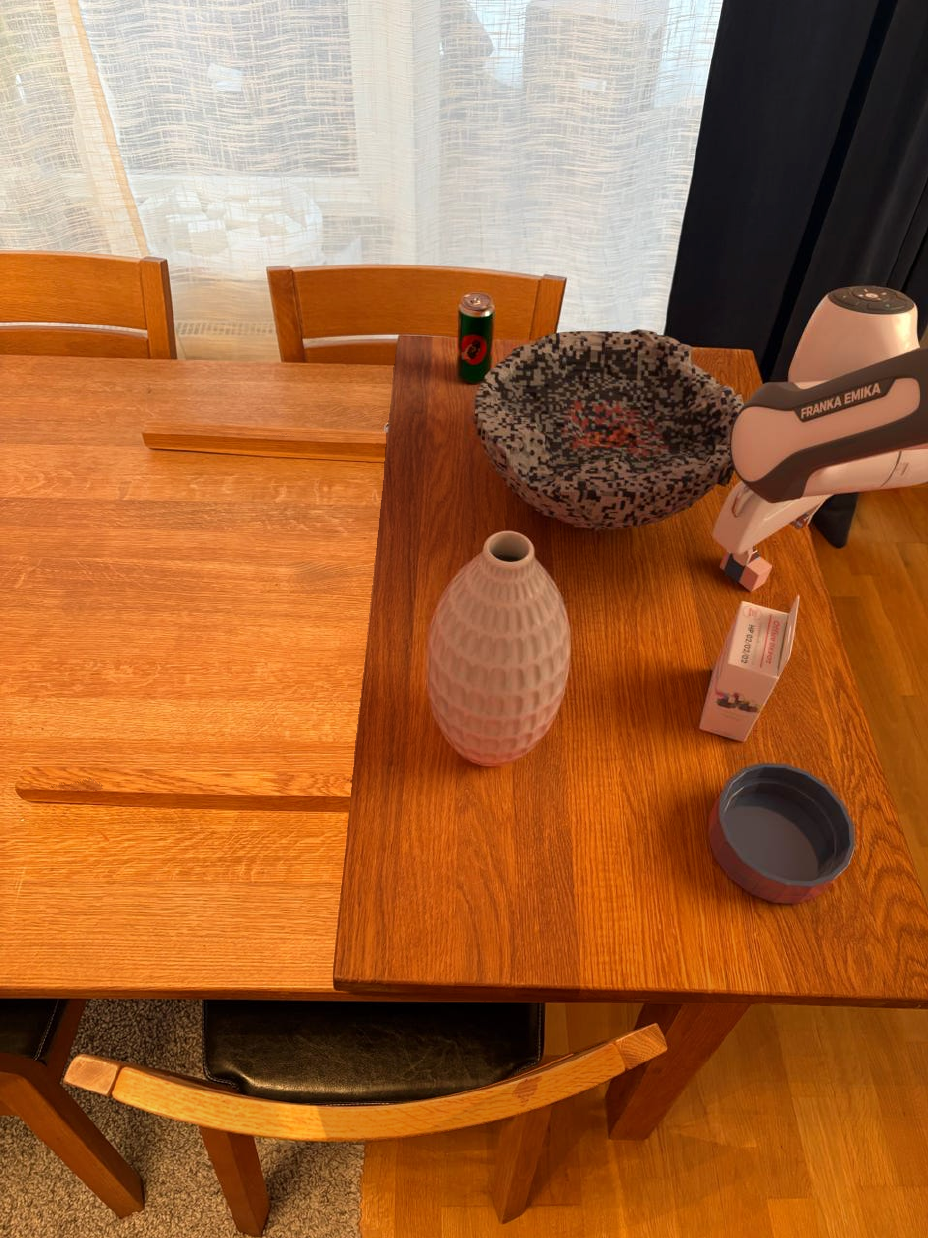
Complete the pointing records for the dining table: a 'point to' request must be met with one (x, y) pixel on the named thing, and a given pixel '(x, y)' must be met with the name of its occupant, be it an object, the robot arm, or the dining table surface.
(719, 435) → the bowl
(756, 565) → the eraser
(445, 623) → the vase
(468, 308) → the soda can
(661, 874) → the dining table surface
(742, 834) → the blue bowl
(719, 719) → the ink box
